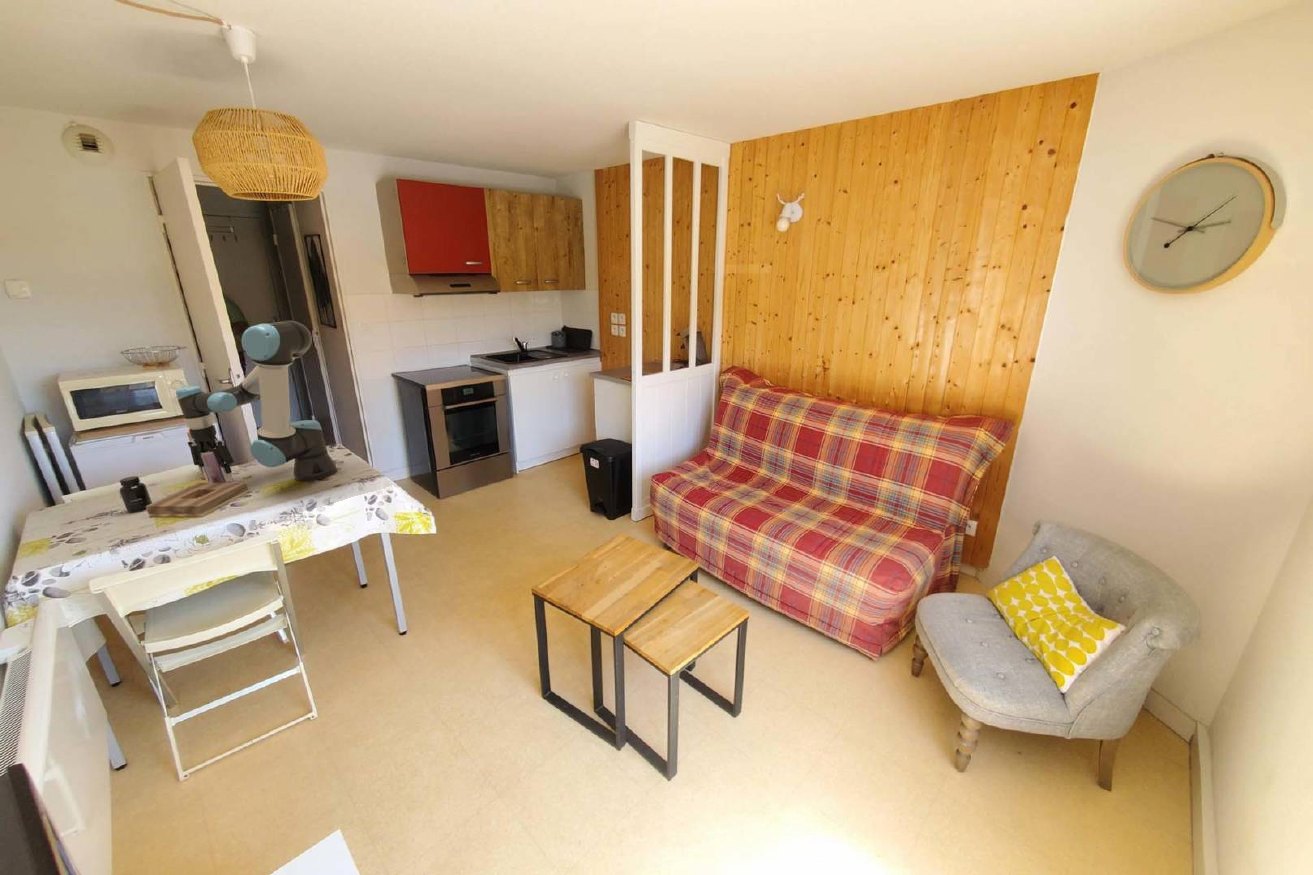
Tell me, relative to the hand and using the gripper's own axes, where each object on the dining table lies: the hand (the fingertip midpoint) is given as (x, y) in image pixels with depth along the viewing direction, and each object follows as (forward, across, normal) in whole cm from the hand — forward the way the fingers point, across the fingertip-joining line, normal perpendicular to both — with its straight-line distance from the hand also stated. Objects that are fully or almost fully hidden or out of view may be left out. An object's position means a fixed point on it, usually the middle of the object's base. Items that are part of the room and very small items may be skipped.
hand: (220, 480), depth 201 cm
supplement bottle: (+2, +13, +20) cm, 24 cm away
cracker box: (+2, +16, -13) cm, 21 cm away
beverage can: (+2, 0, 0) cm, 2 cm away
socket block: (+2, -7, +16) cm, 18 cm away
